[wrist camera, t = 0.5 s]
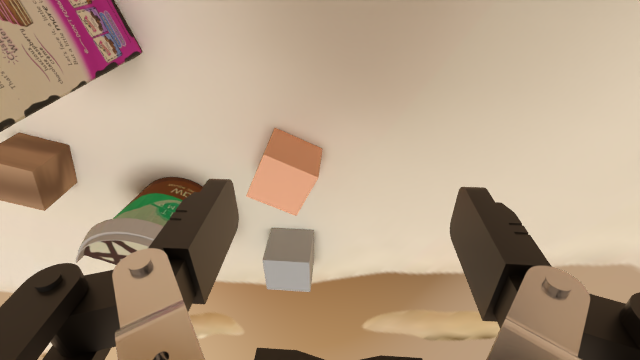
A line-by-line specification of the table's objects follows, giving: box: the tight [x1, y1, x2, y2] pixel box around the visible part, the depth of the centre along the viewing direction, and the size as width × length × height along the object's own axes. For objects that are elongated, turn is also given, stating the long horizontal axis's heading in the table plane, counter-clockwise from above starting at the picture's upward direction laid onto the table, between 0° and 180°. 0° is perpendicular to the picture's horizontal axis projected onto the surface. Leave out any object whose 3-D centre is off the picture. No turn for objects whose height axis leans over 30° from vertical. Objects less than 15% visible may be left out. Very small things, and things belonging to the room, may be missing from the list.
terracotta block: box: [246, 128, 322, 216], centre depth 31 cm, size 5×5×5 cm
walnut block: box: [0, 133, 77, 211], centre depth 34 cm, size 5×5×5 cm
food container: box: [76, 177, 203, 265], centre depth 33 cm, size 12×6×10 cm, turn 66°
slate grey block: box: [263, 228, 314, 292], centre depth 39 cm, size 5×5×5 cm
